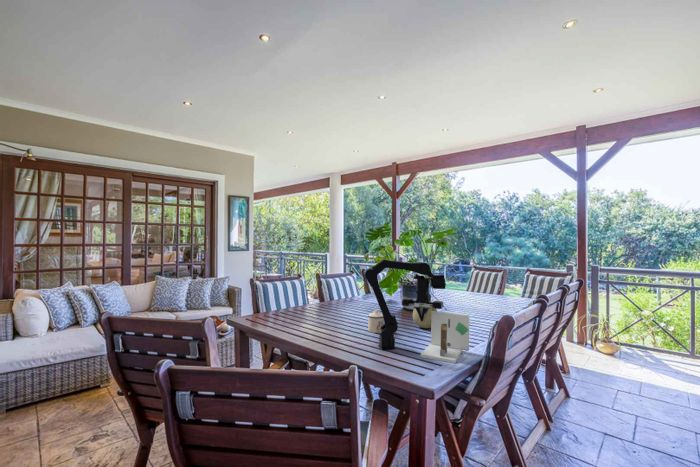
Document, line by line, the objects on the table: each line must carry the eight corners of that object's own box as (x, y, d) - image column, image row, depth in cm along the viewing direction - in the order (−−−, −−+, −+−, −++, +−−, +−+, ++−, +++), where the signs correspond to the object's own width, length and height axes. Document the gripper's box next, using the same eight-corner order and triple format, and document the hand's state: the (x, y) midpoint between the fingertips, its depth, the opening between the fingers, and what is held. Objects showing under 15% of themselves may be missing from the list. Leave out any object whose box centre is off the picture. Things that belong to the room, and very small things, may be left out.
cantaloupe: (407, 327, 204) (407, 302, 204) (421, 323, 214) (421, 299, 215) (429, 332, 194) (429, 305, 194) (442, 328, 204) (443, 302, 204)
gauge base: (420, 357, 153) (421, 318, 153) (430, 345, 170) (431, 310, 170) (462, 364, 145) (463, 323, 145) (469, 351, 162) (469, 314, 162)
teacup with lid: (378, 334, 189) (379, 312, 189) (364, 331, 194) (365, 310, 194) (389, 329, 198) (389, 309, 199) (375, 327, 204) (376, 307, 204)
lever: (440, 353, 152) (440, 324, 153) (442, 351, 155) (442, 323, 156) (445, 354, 151) (445, 325, 152) (446, 352, 155) (447, 323, 155)
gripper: (445, 288, 169) (445, 320, 168) (408, 285, 177) (408, 315, 177) (441, 291, 159) (440, 325, 158) (401, 287, 167) (401, 320, 167)
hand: (422, 321), depth 165 cm, fingers closed
